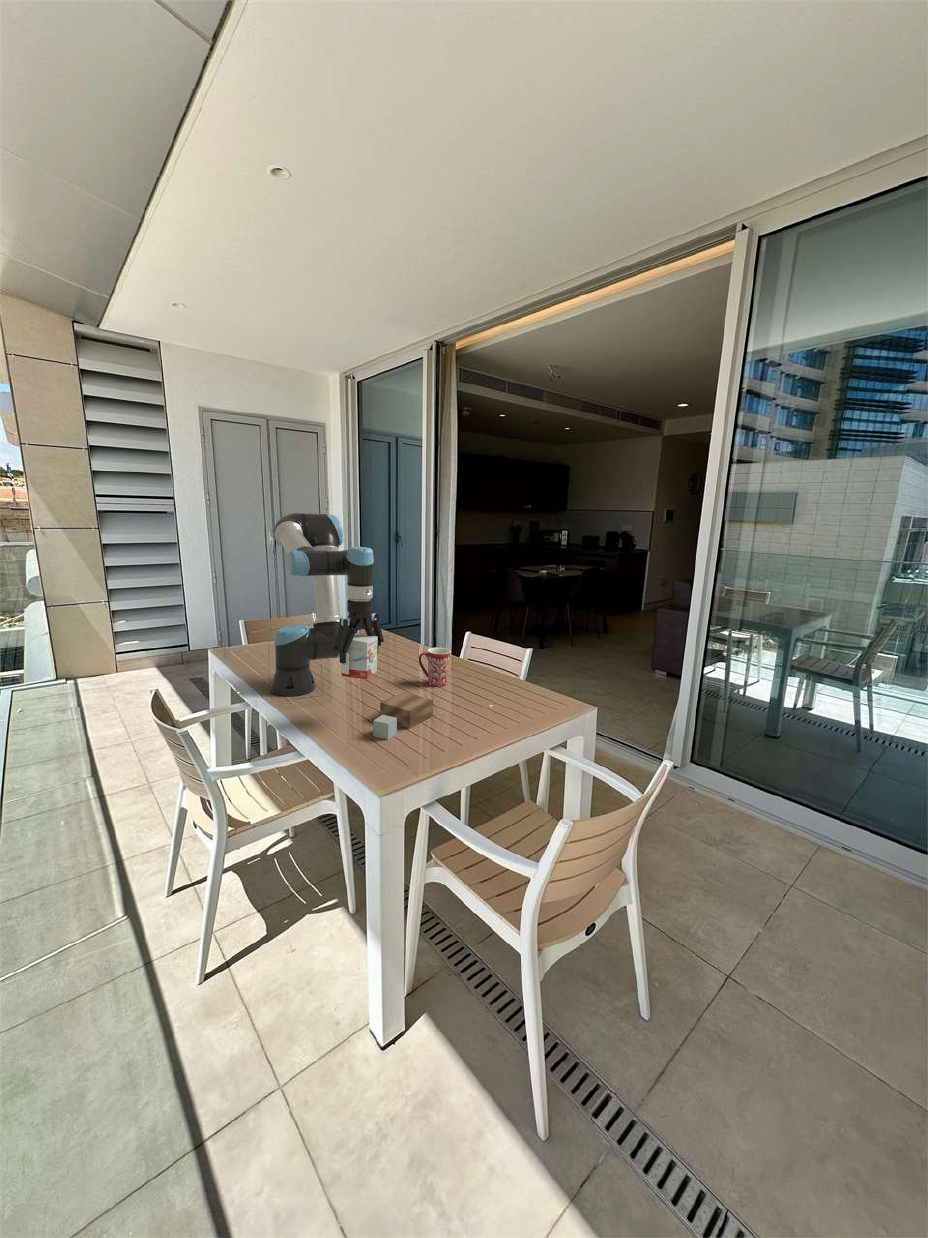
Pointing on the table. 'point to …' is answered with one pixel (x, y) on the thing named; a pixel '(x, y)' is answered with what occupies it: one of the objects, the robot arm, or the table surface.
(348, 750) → the table surface
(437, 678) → the mug
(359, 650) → the ink box
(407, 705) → the walnut block
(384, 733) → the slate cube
